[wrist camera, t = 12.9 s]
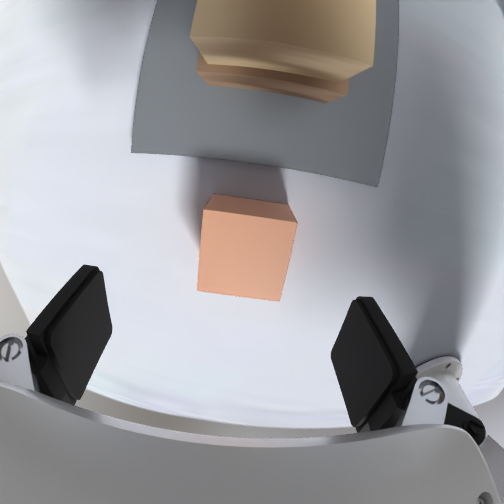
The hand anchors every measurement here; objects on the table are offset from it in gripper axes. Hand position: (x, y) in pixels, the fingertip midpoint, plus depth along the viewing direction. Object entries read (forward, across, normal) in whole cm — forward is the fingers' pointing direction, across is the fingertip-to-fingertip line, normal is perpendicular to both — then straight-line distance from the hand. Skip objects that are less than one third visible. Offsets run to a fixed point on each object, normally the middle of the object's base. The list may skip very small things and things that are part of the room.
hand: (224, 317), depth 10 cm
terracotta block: (+10, -1, +1) cm, 10 cm away
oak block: (+5, -1, -12) cm, 13 cm away
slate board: (+10, -1, -12) cm, 16 cm away
